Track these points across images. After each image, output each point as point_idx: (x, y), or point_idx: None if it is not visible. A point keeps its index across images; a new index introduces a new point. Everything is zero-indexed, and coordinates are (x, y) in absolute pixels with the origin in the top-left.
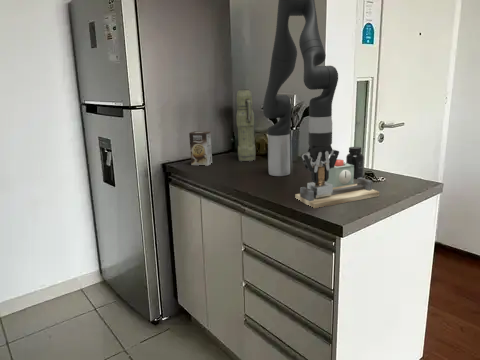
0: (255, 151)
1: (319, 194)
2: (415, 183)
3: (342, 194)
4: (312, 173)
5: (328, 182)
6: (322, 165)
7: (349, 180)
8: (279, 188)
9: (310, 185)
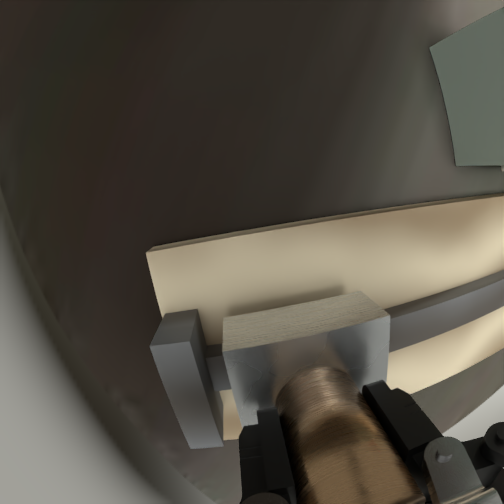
0: None
1: None
2: None
3: (419, 346)
4: (252, 493)
5: (457, 91)
6: (430, 490)
7: None
8: (141, 11)
9: (233, 389)
